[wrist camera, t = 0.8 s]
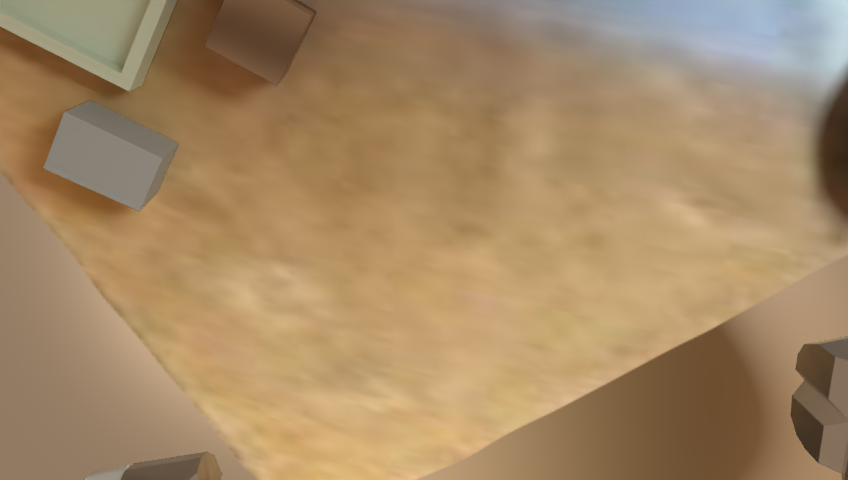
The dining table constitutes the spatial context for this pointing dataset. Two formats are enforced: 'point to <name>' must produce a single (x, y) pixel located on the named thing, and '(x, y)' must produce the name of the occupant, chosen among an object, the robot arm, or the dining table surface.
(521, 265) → the dining table surface
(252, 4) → the walnut block
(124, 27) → the tray
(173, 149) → the slate block
